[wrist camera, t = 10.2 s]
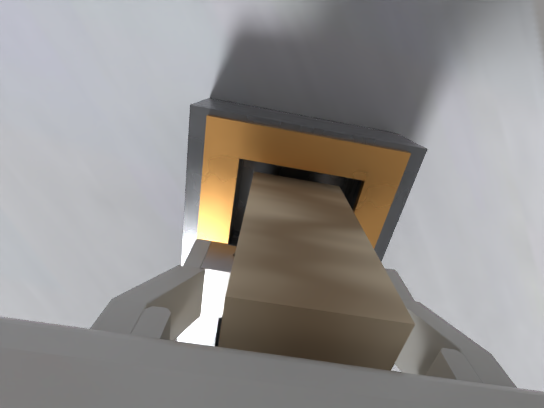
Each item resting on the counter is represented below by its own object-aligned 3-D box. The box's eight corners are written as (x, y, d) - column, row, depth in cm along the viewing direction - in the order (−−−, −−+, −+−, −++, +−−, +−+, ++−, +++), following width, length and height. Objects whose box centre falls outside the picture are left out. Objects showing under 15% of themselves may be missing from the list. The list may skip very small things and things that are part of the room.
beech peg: (339, 186, 13) (414, 324, 6) (318, 256, 15) (357, 432, 8) (254, 171, 13) (225, 296, 6) (242, 244, 15) (208, 413, 7)
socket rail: (209, 98, 15) (188, 105, 11) (396, 133, 15) (430, 150, 12) (183, 411, 26) (169, 464, 22) (292, 425, 26) (294, 478, 23)
